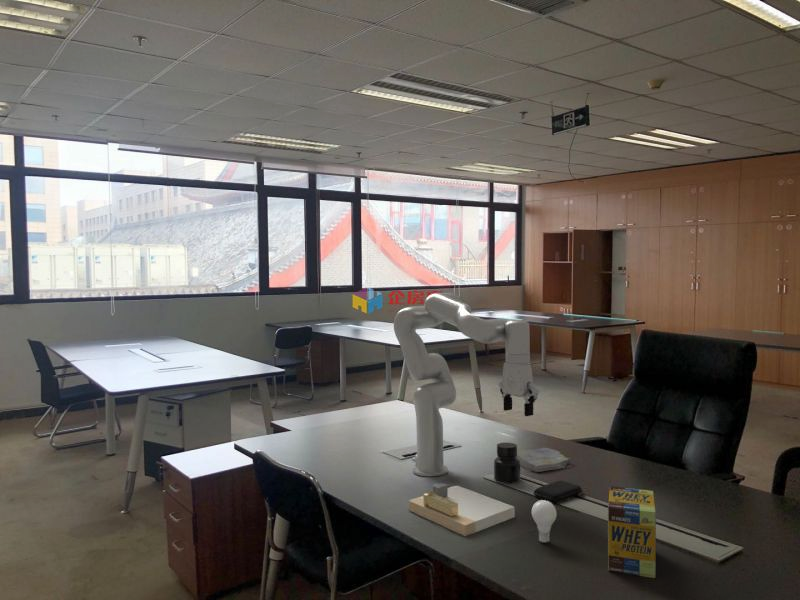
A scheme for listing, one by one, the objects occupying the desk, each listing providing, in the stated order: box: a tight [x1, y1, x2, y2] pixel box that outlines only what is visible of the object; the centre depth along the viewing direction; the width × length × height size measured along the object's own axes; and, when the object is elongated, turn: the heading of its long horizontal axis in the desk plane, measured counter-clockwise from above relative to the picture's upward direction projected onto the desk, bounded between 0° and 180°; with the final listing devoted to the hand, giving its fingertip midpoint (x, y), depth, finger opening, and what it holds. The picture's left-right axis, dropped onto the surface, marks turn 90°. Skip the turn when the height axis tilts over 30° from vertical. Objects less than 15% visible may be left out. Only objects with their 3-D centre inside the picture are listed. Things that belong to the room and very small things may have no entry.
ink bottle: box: [493, 442, 521, 484], centre depth 205 cm, size 10×9×12 cm
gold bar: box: [422, 491, 458, 516], centre depth 171 cm, size 13×3×3 cm, turn 39°
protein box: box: [607, 485, 657, 579], centre depth 145 cm, size 10×15×16 cm
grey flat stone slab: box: [517, 447, 573, 473], centre depth 223 cm, size 20×5×17 cm
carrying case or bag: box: [533, 480, 584, 504], centre depth 190 cm, size 11×3×15 cm
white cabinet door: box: [407, 482, 516, 537], centre depth 176 cm, size 24×20×6 cm
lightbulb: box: [531, 499, 558, 544], centre depth 156 cm, size 6×6×11 cm
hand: (518, 412), depth 190 cm, fingers open, 9 cm apart
